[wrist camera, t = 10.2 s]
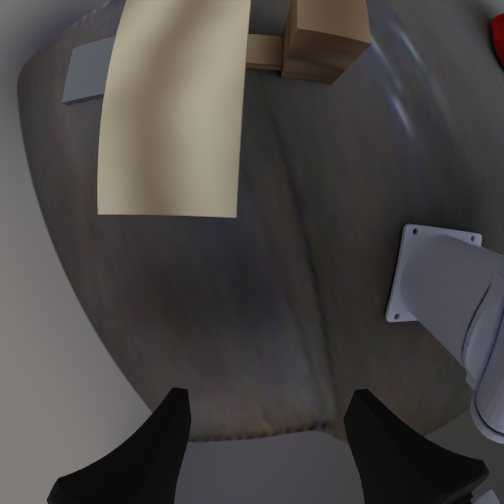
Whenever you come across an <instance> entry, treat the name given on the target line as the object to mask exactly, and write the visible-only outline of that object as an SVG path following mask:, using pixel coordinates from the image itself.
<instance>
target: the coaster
mask: <svg viewBox="0 0 504 504" xmlns="http://www.w3.org/2000/svg"><path fill="white" fill-rule="evenodd" d="M115 38H116V36H115V37H111V38H107V39H103V40H99V41H95V42H92V43H88V44H85V45H82V46H79V47H76V48H74V49H73V53H72V56H71V60H70V64H69V69H68V73H67V78H66V82H65V87H64V93H63V99H62V103H64V104H67V105H69V104H74V103H78V102H83V101H88V100H93V99H98V98H103V97H104V93H105V87H106V81H107V75H108V70H109V65H110V60H111V55H112V51H113V46H114V42H115Z"/></svg>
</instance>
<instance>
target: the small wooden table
mask: <svg viewBox="0 0 504 504" xmlns="http://www.w3.org/2000/svg"><path fill="white" fill-rule="evenodd" d="M250 11H251V0H127V1H126V4H125V7H124V10H123V13H122V16H121V20H120V23H119V27H118V30H117V34H116V38H115V42H114V46H113V51H112V55H111V60H110V65H109V70H108V75H107V81H106V87H105V93H104V100H103V108H102V116H101V126H100V138H99V153H98V214H129V215H177V216H207V217H230V218H236V216H237V203H238V183H239V165H240V147H241V130H242V115H243V99H244V85H245V71H246V58H247V45H248V32H249V20H250Z"/></svg>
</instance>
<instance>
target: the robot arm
mask: <svg viewBox="0 0 504 504" xmlns="http://www.w3.org/2000/svg"><path fill="white" fill-rule="evenodd" d="M414 229H416V231H415V233H414V234H413V230H414ZM471 237H472V239H471ZM481 242H482V236H481V235H480V234H478V233H472V232H466V231H459V230H453V229H446V228H439V227H431V226H424V225H416V224H406V225H405V226H404V228H403V233H402V239H401V245H400V251H399V257H398V262H397V267H396V272H395V277H394V282H393V286H392V290H391V295H390V299H389V303H388V307H387V311H386V314H385V318H386V320H387V321H388V322H401V321H415V320H418V321H419V322H420V323H421V324H422V325H423V326H424V327H425V328H426V329H427V330H428V331H429V332H430V333H431V334H432V335H433V336H434V337H435V338H436V339H437V340H438V341H439V342H440V343H441V344H442V345H443V346H444V347H445V348H446V349H447V350H448V351H449V352H450V353H451V354H452V355H453V356H454V357H455V358H456V359H457V361H458V362H459V363H460V364H461V365H462V366H463V367H464V368H465V369H466V371H467V377H466V382H467V383H468V384H469V385H470V386H471V388H472V389H473V390H474V393H473V395H472V399H471V415H472V418H473V421H474V423H475V425H476V427H477V428H478V429H479V430H480V432H481V433H482V434H484V435H485V436H486V437H487V438H489V439H491V440H493V441H495V442H499V443H504V256H503V255H500V254H498V253H496V252H493V251H491V250H489V249H486V248H484V247H482V246H481ZM396 314H398V315H397V316H396V317H395V315H396ZM190 425H191V413H190V405H189V397H188V389H181V388H174V387H173V388H172V389H171V390H170V391H169V393H168V394H167V396H166V397H165V399H164V400H163V401H162V402H161V404H160V405H159V406H158V408H157V409H156V410H155V411H154V412H153V413H152V415H151V416H150V417H149V418H148V419H147V420H146V422H145V423H144V424H143V425H142V426H141V427H140V428H139V429H138V430H137V431H136V432H135V433H134V434H133V435H132V436H131V437H129V438H128V439H127V440H126V441H125V442H123V443H122V444H121V445H120V446H119V447H117V448H116V449H114V450H113V451H112V452H110V453H109V454H107V455H106V456H104V457H103V458H101V459H100V460H98V461H96V462H94V463H92V464H90V465H89V466H87V467H85V468H83V469H81V470H78V471H76V472H74V473H71V474H68V475H66V476H63V477H60V478H58V479H57V481H56V482H55V484H54V486H53V488H52V490H51V492H50V494H49V496H48V498H47V502H48V504H174V498H175V491H176V484H177V479H178V475H179V472H180V468H181V464H182V460H183V457H184V453H185V450H186V446H187V442H188V439H189V432H190ZM344 425H345V430H346V435H347V439H348V442H349V445H350V448H351V451H352V454H353V457H354V460H355V463H356V466H357V468H358V471H359V475H360V478H361V482H362V488H363V493H364V500H365V504H500V503H499V501H498V499H497V497H496V495H495V494H494V492H493V490H490V491H488V492H487V493H486V494H484V495H483V496H481V497H480V498H478V499H477V500H476V501H474V502H473V503H471V501H470V499H472V498H473V496H472V494H471V492H472V491H473V490H474V489H475V488H476V487H478V486H479V485H480V484H481V483H482V482H483V481H484V480H485V479H486V478H487V477H488V476H489V473H490V472H489V470H488V468H487V467H486V465H485V464H484V462H483V461H482V460H478V459H474V458H469V457H466V456H463V455H459V454H457V453H454V452H451V451H449V450H447V449H444V448H442V447H440V446H438V445H436V444H435V443H433V442H431V441H429V440H427V439H426V438H424V437H423V436H421V435H420V434H418V433H417V432H415V431H414V430H413V429H411V428H410V427H409V426H408V425H406V424H405V423H404V422H403V421H401V420H400V419H399V418H398V417H397V416H396V415H394V414H393V413H392V412H391V411H390V410H389V409H388V408H387V407H386V406H385V405H384V404H383V403H382V402H381V401H379V400H378V399H377V398H376V397H375V396H374V395H373V394H372V393H371V392H370V391H369V390H368V389H361V390H355V392H354V394H353V397H352V399H351V402H350V404H349V407H348V409H347V412H346V414H345V417H344Z"/></svg>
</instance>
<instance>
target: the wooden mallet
mask: <svg viewBox="0 0 504 504" xmlns="http://www.w3.org/2000/svg"><path fill="white" fill-rule="evenodd" d="M370 44H371V37H370V28H369V20H368V13H367V6H366V0H292V1H291V4H290V8H289V12H288V16H287V20H286V24H285V28H284V32H283V36H271V35H256V34H248V45H247V58H246V68H252V69H268V70H281V77H282V78H291V79H300V80H307V81H314V82H321V83H327V84H332V83H333V82H334V81H335V80H336V79H337V78H338V77H339V76H340V75H341V74H342V73H343V72H344V71H345V70H346V69H347V68H348V67H349V66H350V65H351V63H352V62H353V61H354V60H355V59H356V58H357V57H358V56H359V55H360V54H361V53H362V52H363V51H364V50H365V49H366V48H367V47H368V46H369V45H370Z"/></svg>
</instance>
